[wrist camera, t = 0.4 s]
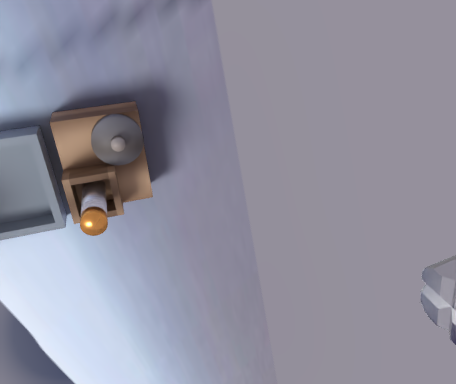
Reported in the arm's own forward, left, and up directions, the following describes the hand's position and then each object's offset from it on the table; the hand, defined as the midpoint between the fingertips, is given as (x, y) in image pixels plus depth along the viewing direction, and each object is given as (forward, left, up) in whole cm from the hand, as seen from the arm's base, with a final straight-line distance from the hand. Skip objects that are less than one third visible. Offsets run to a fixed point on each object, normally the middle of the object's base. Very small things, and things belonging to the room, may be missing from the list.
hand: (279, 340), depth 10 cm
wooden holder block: (+12, -6, -45) cm, 47 cm away
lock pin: (+15, -8, -41) cm, 45 cm away
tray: (+14, -19, -45) cm, 51 cm away
